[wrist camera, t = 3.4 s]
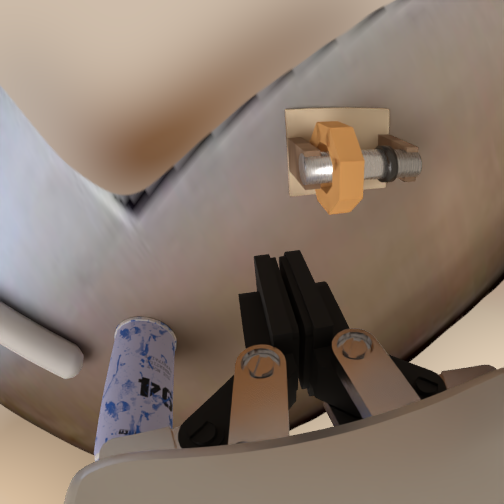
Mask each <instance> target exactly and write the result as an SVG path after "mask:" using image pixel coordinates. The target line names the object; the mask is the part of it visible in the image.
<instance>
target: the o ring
mask: <svg viewBox="0 0 504 504" xmlns="http://www.w3.org/2000/svg"><path fill="white" fill-rule="evenodd" d="M310 143H311V144H312V145H313V146H315V147H316V148H318V149H319V150H320V152H327V151H329V155H330V158H331V161H332V183H322V184H321V189H315V191H316V195H317V200H318V202H319V203H320V204H321V205H322V206H323V208H324V209H325V210H326V211H327V213H328V214H329V215H330V214H338V213H347V212H351V211H352V210H353V208H354V207H355V206H356V205H357V204H358V203H359V202H360V201H361V200H362V199H363V185H364V164H365V160H364V157H363V154H362V151H361V148H360V146H359V143H358V140H357V137H356V134H355V132H354V129H353V127H351V126H348V125H346V124H343V123H341V122H339V121H328V122H316V125H315V128H314V131H313V134H312V137H311V139H310Z"/></svg>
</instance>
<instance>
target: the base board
mask: <svg viewBox="0 0 504 504" xmlns="http://www.w3.org/2000/svg"><path fill="white" fill-rule="evenodd" d="M328 121H339V122H341V123H343V124H346V125H348V126H351V127H353V129H354V132H355V134H356V137H357V140H358V143H359V146H360V148H361V150H371V149H375V148H376V147H377V146H385V145H388V146H391V147H392V148H393V149H404V150H405V151H406V152H418V147H416V146H414V145H412V144H410V143H407V142H405V141H403V140H401V139H398V138H396V137H394V136H391V135H389V109H387V108H302V109H285V122H286V139H287V159H288V180H289V195H290V197H292V196H301V195H310V194H316V191H315V189H321V184H311V185H304V184H303V183H302V181H301V177H300V173H299V156H300V154H301V153H302V154H303V155H304V157H310V156H320V150H319V149H318V148H316V147H315V146H313V145H312V144H311V143H310V139H311V137H312V134H313V131H314V128H315V125H316V122H328ZM399 179H401V180H402V181H404V182H412V181H415V180H416V177H403V178H399ZM374 188H386V182H380V181H379V180H378V179H371V180H364V185H363V189H374Z"/></svg>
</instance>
